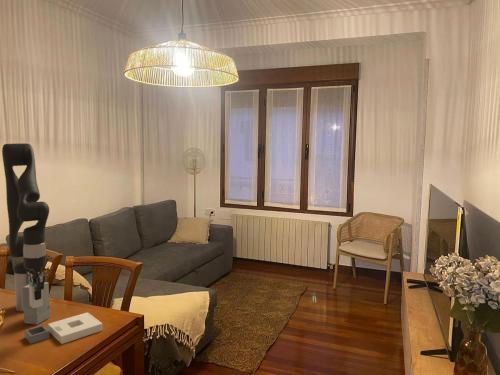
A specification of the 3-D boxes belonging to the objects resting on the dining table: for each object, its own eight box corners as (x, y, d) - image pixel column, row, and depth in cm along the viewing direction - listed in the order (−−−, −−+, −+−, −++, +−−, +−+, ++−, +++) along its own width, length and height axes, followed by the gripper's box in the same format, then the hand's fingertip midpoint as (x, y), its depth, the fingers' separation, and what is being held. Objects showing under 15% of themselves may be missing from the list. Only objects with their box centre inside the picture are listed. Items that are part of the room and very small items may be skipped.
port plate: (48, 330, 157) (47, 323, 157) (87, 318, 169) (87, 312, 169) (61, 344, 148) (61, 336, 147) (102, 330, 159) (102, 323, 159)
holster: (25, 337, 152) (24, 330, 151) (43, 332, 156) (43, 324, 156) (30, 344, 147) (30, 336, 147) (49, 338, 152) (49, 330, 152)
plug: (29, 305, 150) (28, 280, 149) (39, 302, 153) (38, 278, 152) (32, 308, 148) (31, 283, 147) (43, 305, 151) (42, 280, 149)
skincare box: (37, 325, 162) (36, 288, 160) (22, 323, 163) (20, 286, 161) (51, 316, 170) (50, 281, 168) (37, 314, 171) (35, 279, 169)
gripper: (17, 251, 150) (19, 294, 152) (30, 260, 140) (31, 306, 143) (38, 248, 155) (40, 289, 158) (52, 256, 146) (53, 300, 148)
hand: (36, 297), depth 150 cm, fingers closed on plug, 3 cm apart
